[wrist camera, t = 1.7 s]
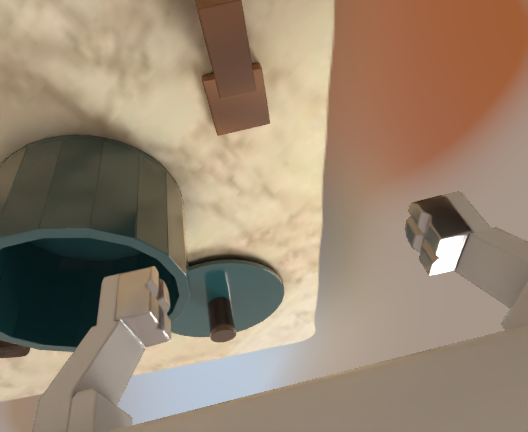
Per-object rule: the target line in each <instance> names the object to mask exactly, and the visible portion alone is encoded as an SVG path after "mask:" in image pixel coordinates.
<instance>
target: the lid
mask: <svg viewBox="0 0 528 432" xmlns="http://www.w3.org/2000/svg"><path fill="white" fill-rule="evenodd" d="M188 269H189V282H190V297H189V299H188V302H187V304H186V306H185V309H184V311H183V313H182V314H181V315H180V316H179V317H178V318H177V319H176V320H175V321H173V322H172V323H171V332H173V333H176V334H179V335H184V336H191V337H210V338H211V340H212V341H214V342H226V341H229V340H231V339H233V338H234V337H235V336H236V332H239V331H242V330H245V329H247V328H250V327H252V326H254V325H256V324H258V323H260V322H262V321H263V320H265V319H266V318H267V317H269V316H270V315H271V314H272V313H273V312H274V311H275V310H276V309H277V308H278V307H279V305H280V304H281V302H282V299H283V296H284V287H283V284H282V281H281V279H280V277H279V276H278V275H277V274H276V273H275V272H274V271H273V270H271V269H270V268H268V267H266V266H264V265H261V264H259V263H255V262H251V261H245V260H232V259H230V260H216V261H209V262H204V263H200V264H197V265H193V266H190V267H188Z"/></svg>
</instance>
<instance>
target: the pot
mask: <svg viewBox="0 0 528 432" xmlns="http://www.w3.org/2000/svg"><path fill="white" fill-rule="evenodd" d="M152 266H155V268H156V269H157V271H158V272H159V279H162V280H164V282H165V284H166V286H167V289H168V292H169V297H170V309H169V311H168V313H167V316H168V317H169V319H170V320H171V323H172V322H173V321H175V320H176V319H177V318H178V317H179V316H180V315H181V314H182V313H183V311H184V309H185V306H186V304H187V302H188V299H189V297H190V282H189V269H188V255H187V241H186V228H185V214H184V208H183V201H182V195H181V192H180V189H179V187H178V185H177V183H176V181H175V180H174V178H173V177H172V176H171V174H170V173H169V172H168V171H167V170H166V169H165V168H164V167H163V166H162V165H161V164H160V163H159V162H157V161H156V160H155V159H154V158H152V157H151V156H149V155H147V154H146V153H144V152H142V151H140V150H138V149H136V148H134V147H132V146H130V145H127V144H124V143H121V142H118V141H114V140H110V139H106V138H101V137H94V136H79V135H73V136H59V137H53V138H48V139H44V140H41V141H37V142H34V143H32V144H30V145H27V146H25V147H23V148H21V149H20V150H18V151H16V152H15V153H13V154H12V155H11V156H10V157H9V158H8V159H6V160H5V161H4V163H3V164H2V165H1V166H0V340H2V341H5V342H9V343H13V344H18V345H22V346H26V347H30V348H35V349H39V350H53V351H68V352H74V351H75V349H76V348H77V347H78V345H79V344H80V343H81V341H82V340H83V338H84V337H85V336H86V334H87V333H88V331H89V330H90V329H91V327H94V326H96V325H97V317H98V309H99V301H100V293H101V285H102V281H103V279H104V277H107V276H111V275H116V274H120V273H124V272H129V271H134V270H138V269H143V268H147V267H152Z"/></svg>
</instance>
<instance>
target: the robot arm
mask: <svg viewBox="0 0 528 432" xmlns="http://www.w3.org/2000/svg"><path fill="white" fill-rule="evenodd" d="M408 212H409V214H410V215H411V216H410V217H409V218H408V219H407V220H406V224H405V231H406V236H407V239H408V242H409V243H410V245H411V247H412V248H413V249H414V250H416V251H418V252H420V256H419V260H420V262H421V264H422V265H423V267H424V269H425V270H426V272H427V273H428V275H429V276H431V275H435V274H440V273H444V272H449V271H453V270H455V272H456V273H458V274H460V275H461V276H462V277H464V278H465V279H467V280H468V281H470V282H471V283H473V284H475V285H476V286H477V287H479V288H480V289H482V290H483V291H485V292H486V293H488V294H489V295H491V296H492V297H494V298H495V299H497V300H498V301H500V302H502V303H503V304H505V305H506V306H507V307H509V308H510V309H509V311H508V312H507V314H506V315H505V316H504V318H503V320H502V322H501V325H502V326H503V328H504V329H505V330H504V331H500V332H497V333H493V334H489V335H485V336H481V337H477V338H473V339H469V340H465V341H462V342H457V343H453V344H450V345H446V346H442V347H438V348H434V349H430V350H426V351H422V352H418V353H415V354H410V355H406V356H402V357H399V358H395V359H391V360H387V361H383V362H379V363H375V364H372V365H367V366H363V367H360V368H355V369H352V370H348V371H344V372H340V373H336V374H332V375H328V376H324V377H320V378H316V379H312V380H308V381H305V382H301V383H297V384H293V385H289V386H285V387H281V388H277V389H273V390H270V391H265V392H261V393H258V394H254V395H250V396H246V397H242V398H238V399H234V400H230V401H226V402H223V403H218V404H215V405H211V406H207V407H203V408H199V409H195V410H192V411H187V412H183V413H179V414H175V415H172V416H168V417H164V418H160V419H156V420H152V421H148V422H144V423H140V424H137V425H132V417H131V416H130V415H129V414H127V413H126V412H124V411H123V410H121V409H120V408H119V407H117V404H118V402H119V400H120V398H121V396H122V394H123V392H124V390H125V388H126V386H127V384H128V382H129V380H130V378H131V376H132V374H133V372H134V370H135V368H136V366H137V364H138V362H139V360H140V358H141V356H142V354H143V352H144V350H145V347H149V346H152V345H156V344H159V343H163V342H167V341H170V340H171V320H170V319H169V317H168V316H167V313H168V311H169V309H170V297H169V292H168V289H167V286H166V284H165V282H164V280H162V279H159V272H158V271H157V269H156V268H155V266H152V267H147V268H143V269H138V270H134V271H129V272H124V273H120V274H116V275H111V276H107V277H104V279H103V281H102V285H101V293H100V301H99V309H98V317H97V325H96V326H94V327H91V329H90V330H89V331H88V333H87V334H86V336H85V337H84V338H83V340H82V341H81V343H80V344H79V345H78V347H77V348H76V349H75V351H74V352H73V354H72V355H71V356H70V358H69V359H68V361H67V362H66V363H65V365H64V366H63V367H62V369H61V370H60V372H59V373H58V374H57V376H56V377H55V378H54V380H53V381H52V383H51V384H50V385H49V387H48V388H47V390H46V391H45V392H44V394H43V395H42V397H41V398H40V399H39V401H38V406H37V411H36V416H35V421H34V425H33V430H32V432H528V241H526V240H523V239H521V238H519V237H517V236H514V235H512V234H510V233H508V232H506V231H504V230H501V229H499V228H497V227H495V228H491V227H490V226H489V224H488V223H487V222H486V221H485V220H484V218H483V217H482V216H481V215H480V214H479V213H478V211H477V210H476V209H475V208H474V207H473V205H472V204H471V203H470V202H469V201H468V199H467V198H466V197H465V196H464V195H463V193H461V192H459V191H458V192H454V193H450V194H445V195H442V196H441V195H440V196H436V197H432V198H428V199H424V200H420V201H417V202H413V203H411V204H410V205H409V209H408Z"/></svg>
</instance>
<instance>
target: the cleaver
mask: <svg viewBox="0 0 528 432" xmlns="http://www.w3.org/2000/svg"><path fill="white" fill-rule="evenodd" d="M29 350H30V347H26V346H22V345H18V344H13V343H9V342H5V341H2V340H0V358H9V357H21V356H26V355H27V354H28V353H29Z"/></svg>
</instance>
